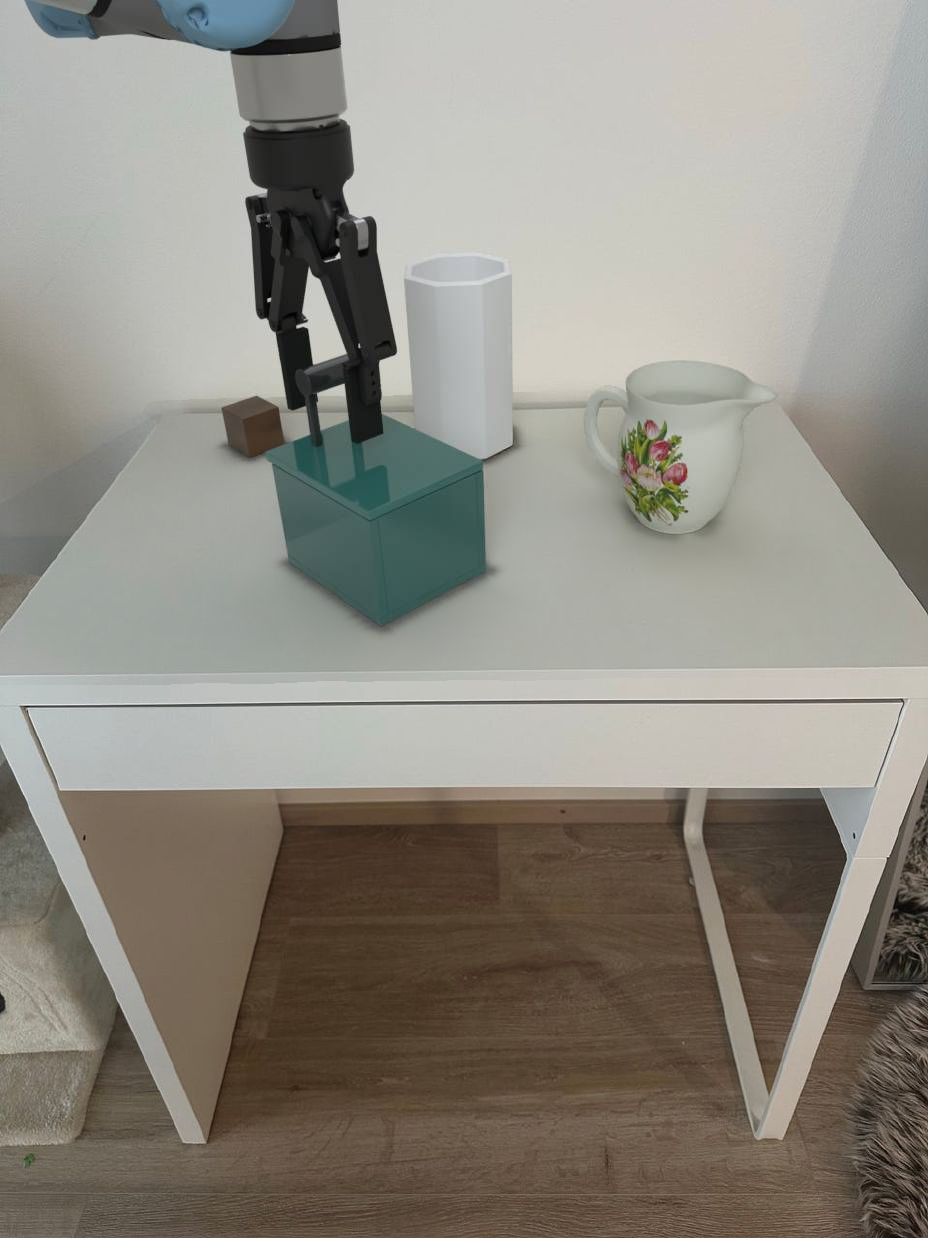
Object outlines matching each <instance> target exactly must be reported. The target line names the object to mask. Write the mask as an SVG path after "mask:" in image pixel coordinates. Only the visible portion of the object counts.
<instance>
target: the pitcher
mask: <svg viewBox="0 0 928 1238" xmlns="http://www.w3.org/2000/svg"><path fill="white" fill-rule="evenodd" d="M625 390H626V391H625ZM625 390H623V389H622V388H620V387H617V386H615V385H610V384H609V385H604V386H601V387H599V388H597V389H596V390H595V391H594V392H592V393H591V395H590V397H589V398H588V400H587V403H586V405H585V410H584V415H583V418H584V420H583V429H584V436H585V441H586V444H587V446H588V448H589V450H590V452H591V454H592V456H593V457H594V458H595V460H596V462H598V463H599V464H600V465H601V467H603V468H604V469H605V470H606V471H608V472H609V473H610V474H612V475H613V476H615V477H617V478H619V482H620V485H621V489H622V492H623V495H624V498H625V501H626V503H627V505H628V507H629V509H630V510H631V512H632V513H633V515H634V516H635V517H636V518H637V520H638V522H639V523H640V524H641V525H643V526H644V527H646V528H647V529H650V530H652V531H656V532H659V533H663V534H672V535H681V534H682V535H683V534H690V533H693V532H697V531H699V530H701V529H703V528H704V527H705V526H706V525H707V524H708V523H709V522H710V521H711V520H712V519H713V518H715V517H716V516H717V514H719V512H720V511H721V509H722V508H723V506H724V505H725V503H726V502H727V500H728V498H729V496H730V494H731V492H732V490H733V488H734V487H735V486H734V485H735V483H736V482H737V478H738V475H739V471H740V469H741V464H742V460H743V454H744V446H745V431H744V424H743V423H744V422H745V420H746V418H747V417H748V416H750V414H751V413H752V412H753V411H754V410H755V409H756V408H758V407H760V406H761V405H764V404H769V403H771V402H773V401H775V400H776V399H777V398H778V397H779V394H778V392H777V391H775V390H774V389H773V388H770V387H768V386H765V385H763V384H761V383H758V382H755V381H753V380H752V379H750V377H748V376H747V375H746V374H745V373H744V372H741V371H739V370H738V369H735V368H732V367H729V366H725V365H722V364H717V363H712V362H706V361H698V360H685V359H684V360H682V359H681V360H666V361H665V360H664V361H657V362H652V363H648V364H645V365H642V366H640V367H637V368H636V369H634V370H632V371H631V372H630V373H629V374H628V375H627V377H626V379H625ZM605 401H611V402H614V403H616V404H617V405H618V406H620V407H621V409H622V411H623V412H624V413H625V414H624V417H623V420H622V423H621V426H620V430H619V433H618V440H617V451H616V454H617V457H615V456H613V454H612V453H611V452H610V451H609V450H608V448H607V447H606V446H605V445H604V443H603V441H602V439H601V437H600V434H599V429H598V417H599V411H600V408H601V406H602V405H603V403H604V402H605Z"/></svg>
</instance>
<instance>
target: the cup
mask: <svg viewBox="0 0 928 1238" xmlns="http://www.w3.org/2000/svg"><path fill="white" fill-rule="evenodd" d="M512 279H513V273H512V267H511V262H510V260H509V259H507V258H505V257H501V256H498V255H497V256H496V255H492V254H487V253H483V252H480V251H479V252H478V251H471V252H469V251H468V252H451V253H450V252H448V253H447V252H445V253H435V254H432V255H429V256H425V257H422V258H419V259H417V260H413V261H410V262H408V263H407V264H406V265H405V266H404V274H403V282H404V283H403V285H404V297H405V310H406V311H405V312H406V322H407V323H406V326H407V337H408V353H409V366H410V367H409V368H410V377H411V380H410V381H411V391H412V405H413V420H414V429H416V430H418V431H420V432H422V433H425V434H427V435H429V436H431V437H433V438H435V439H437V440H440V441H442V442H444V443H446V444H448V445H450V446H452V447H455V448H457V449H459V450H461V451H463V452H465V453H467V454H469V455H472V456H474V457H476V458H478V459H480V460H482V461H483V460H484V461H485V460H486V459H488V458H490V457H492V456H494V455H496V454H498V453H501V452H502V451H504V450H505V449H508V448H509V447H512V446H513V445H514V436H513V435H514V408H513V407H514V406H513V405H514V401H513V398H514V396H513V394H514V393H513V391H514V390H513V388H514V387H513V386H514V385H513V280H512Z"/></svg>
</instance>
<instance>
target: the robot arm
mask: <svg viewBox="0 0 928 1238" xmlns="http://www.w3.org/2000/svg"><path fill="white" fill-rule="evenodd" d="M24 3H25V5H26V7H27V9H28V12H29V14H30V15H31V17H32V18H33V20H34V22H35V23H36V25H37V26H38V27H39V28H40V30H42V32H43V33H45V34H46V35H48V36H49V37H53V38H55V39H78V38H79V39H81V38H87V39H89V40H91V41H95V40H97V41H98V40H99V39H100V38H101V37H110V36H124V35H133V36H140V37H146V38H151V39H158V40H166V41H175V42H180V43H181V42H182V43H186V44H191V45H195V46H197V47H201V48H203V49H204V48H205V49H208V50H209V49H210V50H213V51H216V52H217V51H218V52H224V53H225V52H229V55H230V56H229V57H230V63H231V69H232V75H233V81H234V87H235V93H236V101H237V108H238V113H239V116H240V118H241V119H243V120H244V121H245V122H246V121H247V122H248V123H249V125H248V126H246V127H245V130H244V131H243V133H242V137H243V142H244V149H245V150H244V151H245V155H246V163H247V169H248V173H249V179H250V181H251V182H252V183H253V184H254V185H255V186H256V187H258V188H261V189H263V190H264V189H265V190H266V192H263V193H259V194H254V195H249V196H246V197H245V198H244V199H245V200H244V204H245V208H246V209H245V210H246V213H247V217H248V221H249V222H248V223H249V226H250V237H251V253H252V270H253V288H254V289H253V290H254V304H255V313H256V316H257V318H258V319H259V320H265V319H266V320H267V321H268V327H269V329H270V330H271V331H272V332H273V333H274V334H275V339H276V347H277V352H278V357H279V363H280V369H281V375H282V383H283V388H284V395H285V400H286V406H287V410H290V411H296V410H299V409H302V408H304V407H305V408H306V403H305V396H304V395H303V394H302V393H301V392H300V390H299V389H298V386H297V384H296V379H295V375H296V371H297V370H299V369H302V368H305V367H308V366H311V365H314V361H313V353H312V346H311V338H310V331H309V328H308V327H305V326H301V327H298V326H300V325H303V324H307V323H308V322H309V319H308V318H307V317H306V316H305V314H304V313H303V310H304V303H305V298H306V297H305V296H306V289H307V283H308V277H309V270H310V273H311V274H312V276H313V277H314V278H315V279H318V280H319V281H320V284H321V286H322V289H323V292H324V294H325V295H324V296H325V297H326V300H327V303H328V305H329V309H330V311H331V314H332V317H333V319H334V322H335V326H336V328H337V331H338V333H339V336H340V338H341V341H342V344H343V347H344V350H345V352H346V353H345V354H347V356H348V358H349V360H348V361H345V362H343V363H341V364H342V366H343V374H344V382H345V384H344V392H345V391H346V393H345V400H346V399H347V401H346V408H348V410H347V417H348V416H349V418H348V420H349V425H350V433H351V441H352V442H354V443H356V444H359V443H361V442H364V441H366V440H369V439H371V438H374V437H376V436H379V435H381V434H384V433H383V423H382V414H383V413H382V404H381V402H382V396H383V393H382V392H383V391H382V383H381V372H380V371H381V370H380V362H381V361H383V360H386V359H389V358H391V357H394V356H397V353H398V346H397V342H396V337H395V332H394V328H393V323H392V318H391V312H390V310H389V309H390V308H389V303H388V298H387V293H386V288H385V283H384V279H383V274H382V269H381V263H380V259H379V254H378V227H377V226H378V225H377V222H376V219H375V218H374V217H373V216H372V215H368V216H363V217H360V218H359V217H357V216H355V215H354V214H351V213H350V210H349V207H348V206H349V205H348V204H347V201H346V199H345V194H344V186H345V184H346V183H347V181H349V180H350V179H351V178H352V177H353V176H354V173H355V161H354V152H353V151H354V150H353V141H352V132H351V126H350V125H349V124H348V122H347V121H346V120H345V119H342V118H340V116H341V115H343V114H345V112H346V111H347V110H348V100H347V90H346V80H345V71H344V63H343V53H342V37H341V28H340V27H341V26H340V16H339V15H340V13H339V4H338V3H339V2H338V0H24ZM338 255H339V257H340V258H337V256H338ZM268 299H270V300H268ZM318 396H319V395H318V393H317V394H316V401H317V403H318V402H319V398H318Z"/></svg>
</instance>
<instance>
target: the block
mask: <svg viewBox="0 0 928 1238" xmlns="http://www.w3.org/2000/svg"><path fill="white" fill-rule="evenodd" d="M220 409H221V413H222V418H223V423H224V428H225V432H226V433H225V434H226V438H227V443H228V446H229V447H231V448H233V449H235V450H236V451H237V452H239V453H241V454H243V455H245V456H246V457H248V458H253V457H255V456H259V455H261V454H265V452H266V451H268V450H271V449H274V448H276V447H279V446H282V445H284V444H285V437H284V433H283V432H284V431H283V426H282V419H281V413H280V407H279V406H278V405H276V404H275V403H272V402H270V401H268V400H267V399H264V398H262V397H261V396H259V395H253V396H251V397H248V398H245V399H242V400H238V401H235V402H233V403H230V404H227V405H225V406H222V407H221V408H220Z"/></svg>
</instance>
